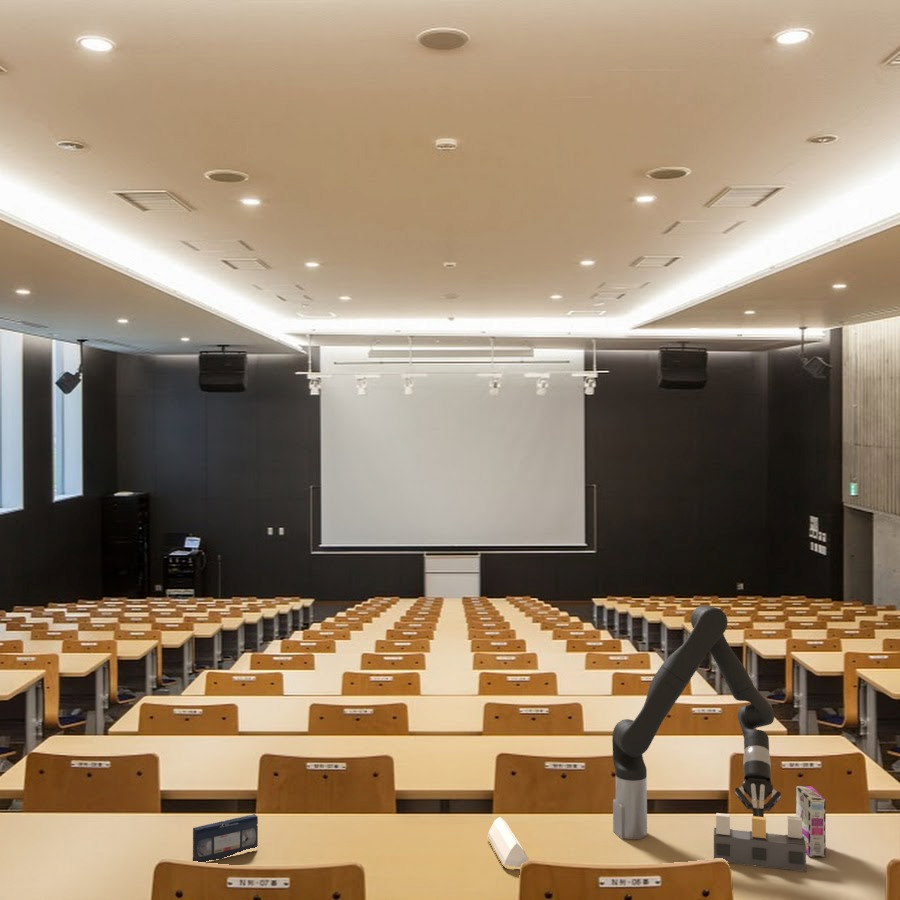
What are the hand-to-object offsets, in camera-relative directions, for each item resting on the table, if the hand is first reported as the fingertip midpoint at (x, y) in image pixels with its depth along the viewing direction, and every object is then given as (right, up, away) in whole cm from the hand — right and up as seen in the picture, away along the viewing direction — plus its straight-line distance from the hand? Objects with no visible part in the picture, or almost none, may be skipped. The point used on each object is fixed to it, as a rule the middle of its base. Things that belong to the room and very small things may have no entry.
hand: (758, 823), depth 261 cm
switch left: (-10, -3, +1) cm, 10 cm away
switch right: (+9, -3, -2) cm, 10 cm away
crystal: (-69, -11, +6) cm, 70 cm away
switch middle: (0, -3, -2) cm, 3 cm away
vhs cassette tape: (-149, -12, +4) cm, 150 cm away
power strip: (0, -10, -1) cm, 10 cm away
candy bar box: (+18, -11, +8) cm, 22 cm away
